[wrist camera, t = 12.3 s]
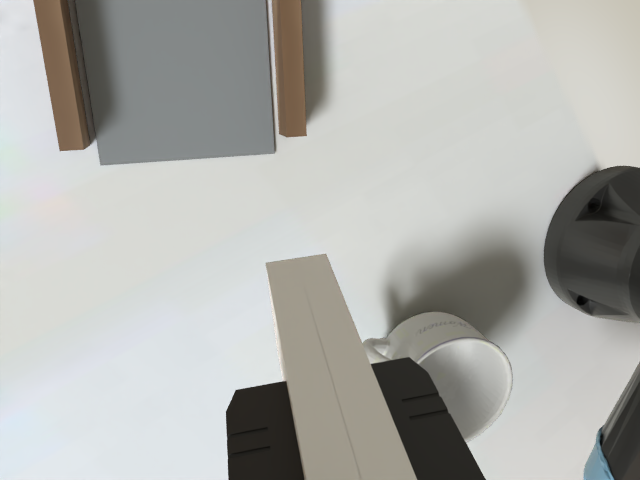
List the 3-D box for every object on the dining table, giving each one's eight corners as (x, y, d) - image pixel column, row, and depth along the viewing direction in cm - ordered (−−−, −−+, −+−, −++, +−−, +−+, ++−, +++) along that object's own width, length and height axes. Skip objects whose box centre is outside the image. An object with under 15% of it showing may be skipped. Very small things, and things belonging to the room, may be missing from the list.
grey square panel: (261, -58, 38) (262, -58, 38) (274, 153, 42) (274, 153, 42) (65, -63, 35) (65, -64, 34) (100, 164, 39) (100, 165, 39)
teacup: (486, 335, 53) (537, 376, 45) (418, 419, 53) (458, 473, 46) (388, 261, 47) (428, 293, 40) (314, 354, 48) (341, 403, 41)
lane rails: (289, -49, 38) (298, -60, 36) (297, 132, 42) (306, 135, 39) (33, -56, 34) (21, -68, 32) (68, 146, 38) (59, 150, 35)
